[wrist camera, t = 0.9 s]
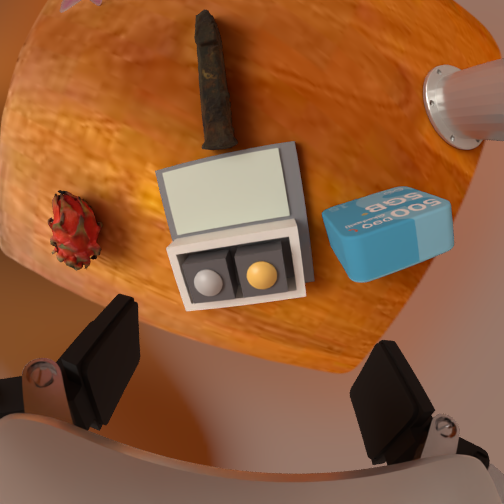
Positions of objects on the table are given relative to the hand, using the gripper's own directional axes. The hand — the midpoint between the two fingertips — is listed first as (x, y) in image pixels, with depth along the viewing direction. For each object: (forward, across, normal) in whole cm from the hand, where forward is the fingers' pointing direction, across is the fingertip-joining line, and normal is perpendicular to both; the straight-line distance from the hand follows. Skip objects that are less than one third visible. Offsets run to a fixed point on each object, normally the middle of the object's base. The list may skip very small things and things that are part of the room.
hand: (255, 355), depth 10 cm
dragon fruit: (+26, +25, +5) cm, 37 cm away
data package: (+25, -13, -4) cm, 28 cm away
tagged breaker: (+22, -1, +5) cm, 23 cm away
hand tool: (+25, +9, -16) cm, 31 cm away
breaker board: (+25, +2, +2) cm, 25 cm away
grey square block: (+22, +4, +7) cm, 24 cm away
